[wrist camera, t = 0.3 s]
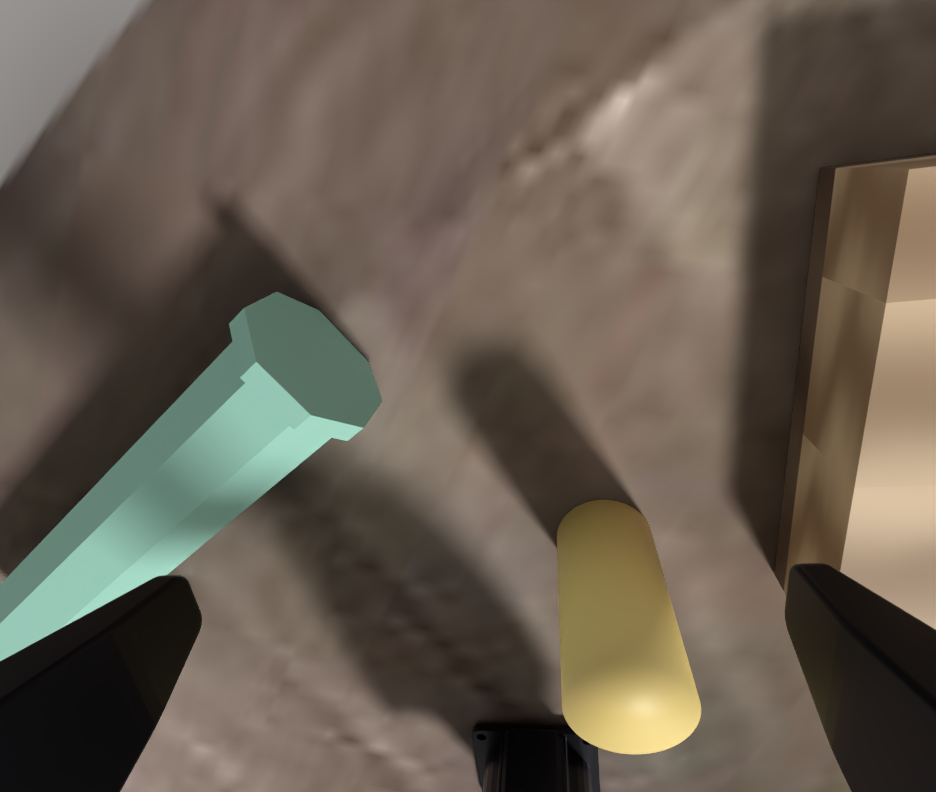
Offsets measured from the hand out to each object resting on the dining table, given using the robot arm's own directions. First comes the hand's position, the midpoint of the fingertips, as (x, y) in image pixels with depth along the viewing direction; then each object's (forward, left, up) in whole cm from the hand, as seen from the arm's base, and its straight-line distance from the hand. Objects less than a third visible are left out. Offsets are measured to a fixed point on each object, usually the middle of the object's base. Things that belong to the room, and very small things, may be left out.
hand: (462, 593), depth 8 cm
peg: (-10, -3, -13) cm, 17 cm away
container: (-7, +17, -14) cm, 23 cm away
